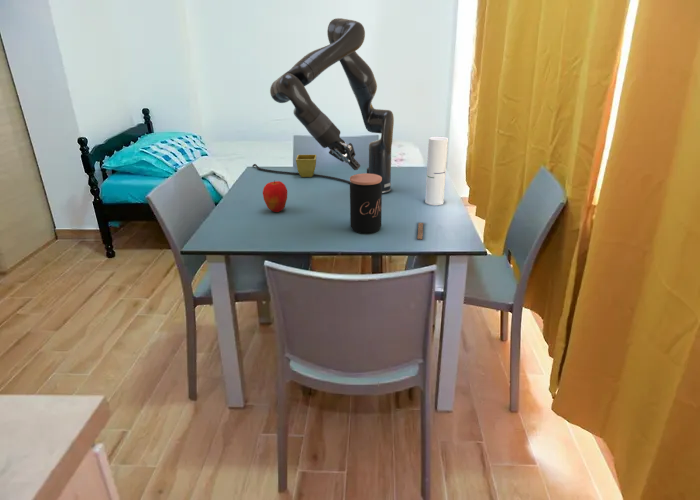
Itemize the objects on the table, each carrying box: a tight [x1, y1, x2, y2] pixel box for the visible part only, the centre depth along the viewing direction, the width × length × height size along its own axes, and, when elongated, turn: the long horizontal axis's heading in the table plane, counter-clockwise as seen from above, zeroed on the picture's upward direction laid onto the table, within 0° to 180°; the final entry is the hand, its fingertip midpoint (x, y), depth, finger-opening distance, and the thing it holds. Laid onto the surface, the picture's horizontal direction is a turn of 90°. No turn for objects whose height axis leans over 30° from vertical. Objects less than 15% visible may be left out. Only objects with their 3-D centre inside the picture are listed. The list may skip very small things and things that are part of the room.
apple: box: [262, 180, 288, 213], centre depth 183 cm, size 9×9×12 cm
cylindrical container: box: [424, 135, 449, 206], centre depth 187 cm, size 7×7×25 cm
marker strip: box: [416, 222, 424, 241], centre depth 165 cm, size 2×14×1 cm, turn 171°
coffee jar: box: [349, 172, 383, 235], centre depth 164 cm, size 11×11×18 cm
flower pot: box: [295, 154, 317, 178], centre depth 226 cm, size 9×9×9 cm
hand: (357, 168), depth 160 cm, fingers closed
